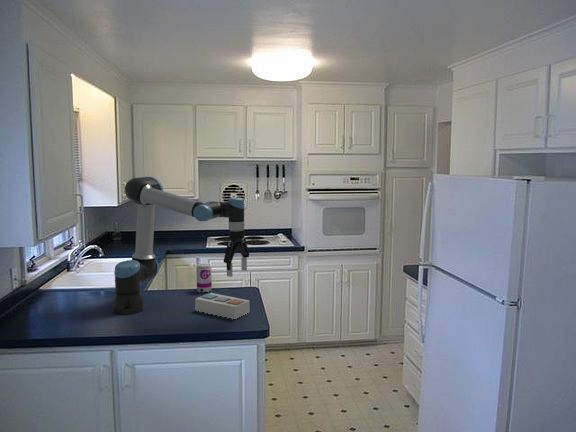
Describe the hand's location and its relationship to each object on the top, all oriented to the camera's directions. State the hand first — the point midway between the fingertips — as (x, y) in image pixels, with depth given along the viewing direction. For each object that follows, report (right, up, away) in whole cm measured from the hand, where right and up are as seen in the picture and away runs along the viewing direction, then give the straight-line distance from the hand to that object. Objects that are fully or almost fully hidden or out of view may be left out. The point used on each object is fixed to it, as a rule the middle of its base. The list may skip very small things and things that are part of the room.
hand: (237, 273), depth 234 cm
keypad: (-7, -19, +2) cm, 20 cm away
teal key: (-14, -16, +5) cm, 22 cm away
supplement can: (-22, -15, +37) cm, 45 cm away
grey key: (-7, -17, +1) cm, 18 cm away
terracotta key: (0, -17, -3) cm, 17 cm away
